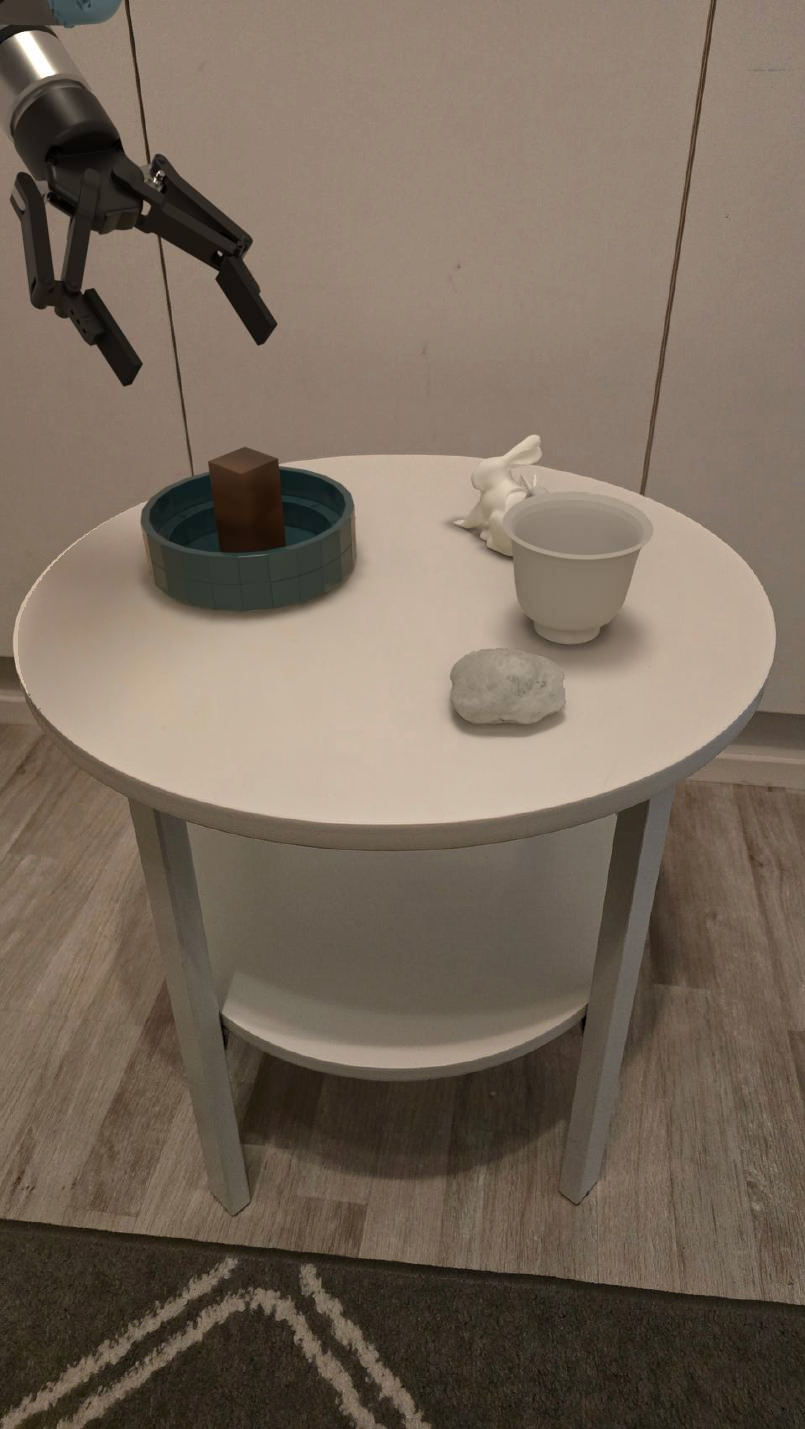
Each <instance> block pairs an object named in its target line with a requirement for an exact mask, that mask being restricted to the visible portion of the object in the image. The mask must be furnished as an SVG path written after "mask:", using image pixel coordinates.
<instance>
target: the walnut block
mask: <svg viewBox="0 0 805 1429" xmlns="http://www.w3.org/2000/svg"><path fill="white" fill-rule="evenodd" d="M207 466H208V472H209V473H210V481H211V488H212V496H213V503H214V511H215V518H216V526H217V533H218V540H219V548H220V552H226V553H246V552H258V551H267V550H271V549H276V548H281V547H286V539H285V528H284V517H283V506H282V495H281V483H280V472H279V466H280V462H279V458H278V457H275V456H272V455H270V454H267V453H264V452H261V451H259V450H256V449H253V448H250V447H247V446H243V447H240V448H238V449H235V450H233V451H230V452H227V453H225V454H222V455H220V456H217V457H215V458H212V459H210V460H208V461H207Z"/></svg>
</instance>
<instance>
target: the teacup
mask: <svg viewBox="0 0 805 1429" xmlns="http://www.w3.org/2000/svg"><path fill="white" fill-rule="evenodd" d="M503 528H504V530H505V532H506V533H507V534H508V536H509V537H510V538H511V542H512V550H513V556H512V563H513V577H514V578H513V579H514V586H515V594H516V598H517V601H518V604H519V606H520V608H521V610H522V611H523V613H524V614H525V615H526V616H527V618H529V619H531V620H532V621H533V629H534V631H535V633H536V634H537V635H539V636H540V637H541V638H543V639H545V640H547V641H549V642H552V643H555V644H560V645H579V644H585V643H587V642H590V641H593V640H594V639H595V638H597V637H598V635H599V634H600V632H601V627H603V626H605V625H606V624H608V623H609V622H611V621H612V620H613V619H615V618H616V617H617V615H618V614H619V612H620V611H621V609H622V607H623V606H624V603H625V601H626V598H627V596H628V592H629V589H630V586H631V582H632V579H633V575H634V572H635V569H636V568H635V567H636V564H637V561H638V558H639V555H640V553H641V550H642V548H643V547H644V546H646V545H647V544H648V543H649V542H650V541H651V539H652V537H653V535H654V526H653V523H652V521H651V520H650V519H649V517H648V516H647V515H646V514H645V512H644V511H642V510H641V509H639V508H638V507H637V506H634V505H633V504H631V503H629V502H626V501H624V500H621V499H618V498H616V497H612V496H608V495H604V494H600V493H594V492H586V491H555V492H549V491H548V490H547V488H545V487H544V486H539V485H538V486H536V487H533V488H531V489H530V490H529V491H528V492H527V495H526V497H525V499H524V500H522V501H520V502H518V503H517V504H515V505H514V506H513V507H511V508H510V509H509V510H508V511H507V513H506V514H505V516H504V518H503Z"/></svg>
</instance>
